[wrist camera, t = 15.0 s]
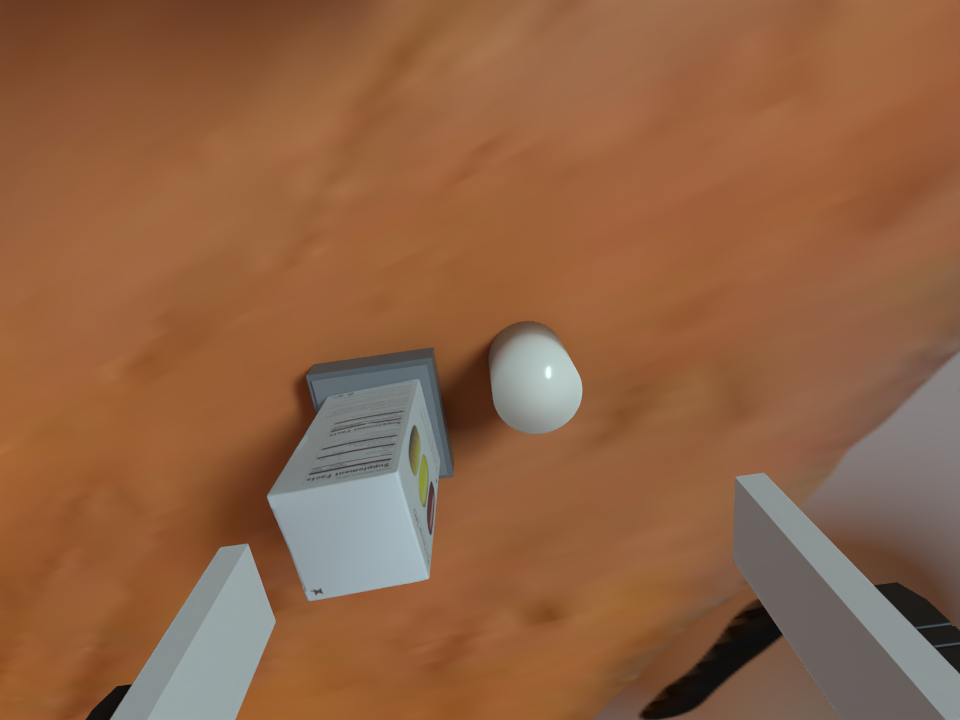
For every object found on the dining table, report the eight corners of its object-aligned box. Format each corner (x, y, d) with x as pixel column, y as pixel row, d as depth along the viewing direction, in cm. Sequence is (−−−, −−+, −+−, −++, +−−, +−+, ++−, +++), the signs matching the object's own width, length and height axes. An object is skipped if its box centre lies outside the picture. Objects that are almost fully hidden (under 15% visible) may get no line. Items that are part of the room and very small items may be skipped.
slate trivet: (314, 364, 54) (304, 376, 50) (433, 347, 53) (431, 358, 50) (343, 476, 58) (337, 494, 55) (454, 461, 58) (453, 477, 55)
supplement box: (442, 461, 54) (433, 585, 38) (353, 479, 54) (307, 608, 39) (419, 374, 51) (398, 470, 35) (324, 394, 51) (261, 497, 35)
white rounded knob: (483, 327, 53) (486, 358, 44) (560, 316, 53) (578, 344, 44) (493, 397, 55) (498, 439, 47) (567, 387, 55) (585, 427, 47)
